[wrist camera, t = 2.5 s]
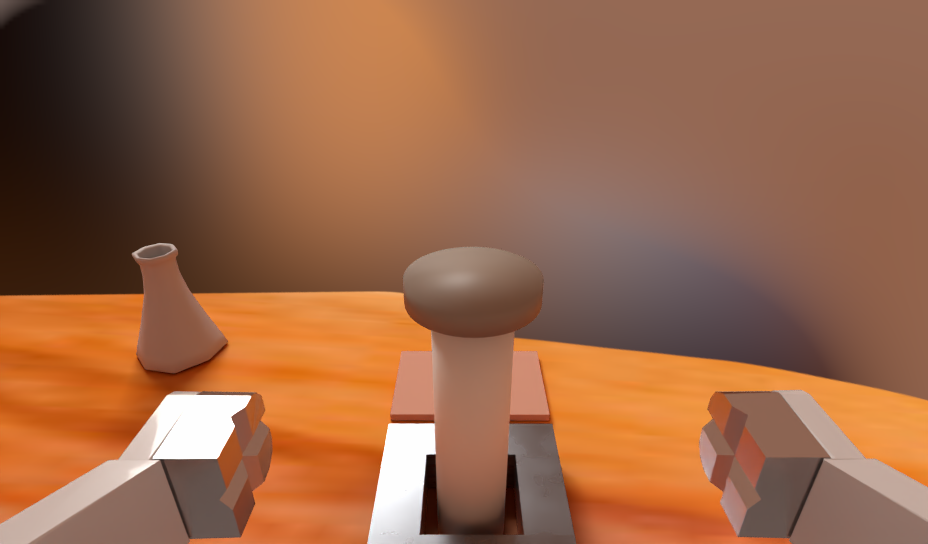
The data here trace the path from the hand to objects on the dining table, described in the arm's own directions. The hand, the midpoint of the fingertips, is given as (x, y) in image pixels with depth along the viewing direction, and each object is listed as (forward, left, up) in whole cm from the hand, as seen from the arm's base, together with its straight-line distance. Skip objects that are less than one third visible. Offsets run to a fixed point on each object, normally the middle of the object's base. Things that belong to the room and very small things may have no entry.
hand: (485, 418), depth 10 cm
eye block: (0, +14, -22) cm, 26 cm away
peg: (0, +14, -22) cm, 26 cm away
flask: (-26, +32, -22) cm, 47 cm away
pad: (0, +27, -22) cm, 35 cm away
